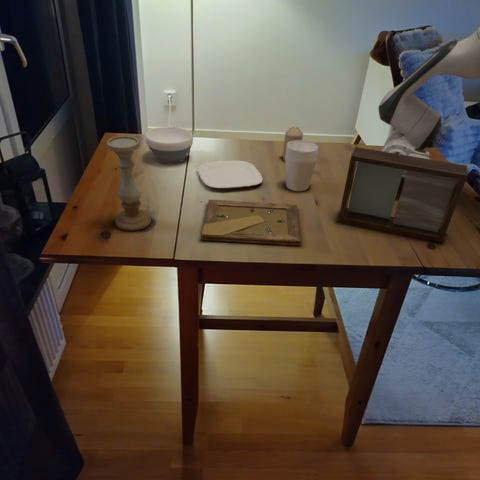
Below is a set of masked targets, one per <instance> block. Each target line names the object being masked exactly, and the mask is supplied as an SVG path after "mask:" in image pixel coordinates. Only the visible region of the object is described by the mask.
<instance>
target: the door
mask: <svg viewBox="0 0 480 480" xmlns="http://www.w3.org/2000/svg"><path fill="white" fill-rule="evenodd" d="M403 171H404V170H403V169H397V168H391V167H386V166H380V165H374V164H368V163H363V162H358V165H357V168H356V169H355V174H354V179H353V183H352V188H351V193H350V197H349V202H348V207H347V208H348V211H353V212H358V213H363V214H368V215H374V216H379V217H384V218H389V219H390V216H391V217H392V214H393V213H392V212H393V210H394V205H395V202H396V198H397V196H398V191H399V188H400V185H401V181H402V179H403V178H402V174H403Z"/></svg>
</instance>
